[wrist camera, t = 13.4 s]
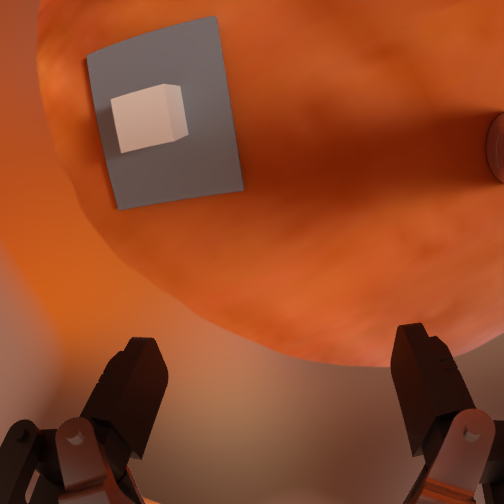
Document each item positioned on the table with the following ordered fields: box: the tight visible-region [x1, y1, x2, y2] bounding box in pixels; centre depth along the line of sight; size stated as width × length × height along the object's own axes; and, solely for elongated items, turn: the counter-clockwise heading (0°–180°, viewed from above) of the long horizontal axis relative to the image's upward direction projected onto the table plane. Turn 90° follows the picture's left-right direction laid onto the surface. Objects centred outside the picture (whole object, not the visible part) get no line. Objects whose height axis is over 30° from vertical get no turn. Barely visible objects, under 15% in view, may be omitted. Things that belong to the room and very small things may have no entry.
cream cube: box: [111, 84, 189, 153], centre depth 26 cm, size 5×5×5 cm
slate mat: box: [86, 16, 244, 210], centre depth 29 cm, size 14×18×1 cm
